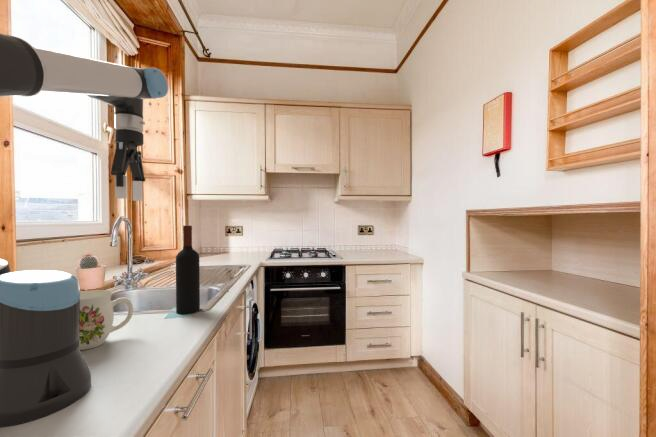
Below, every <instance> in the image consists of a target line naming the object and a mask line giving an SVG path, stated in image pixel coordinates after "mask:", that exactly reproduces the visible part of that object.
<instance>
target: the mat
mask: <svg viewBox="0 0 656 437" xmlns="http://www.w3.org/2000/svg"><path fill="white" fill-rule="evenodd" d="M171 310H176V306H175V307H172V309H171ZM192 316H193V314H187V315H180V314H177V313H173V312H172V313H171V312H170V311H169V312H168V313H167V315H165V317H164V319H173V318H174V319H175V318H185V317H192ZM164 319H163V320H164Z"/></svg>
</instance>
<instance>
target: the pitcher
mask: <svg viewBox="0 0 656 437" xmlns="http://www.w3.org/2000/svg"><path fill="white" fill-rule="evenodd" d="M79 292H80V318H79V348H80V351H86V350H91V349H95V348H97V347H100V346H102V345H103V344H104V343H105V341H106V340H107V339H108V337H109V335H110V334H111V333H113V332H115V331H118V330H119V329H122V328H124V327H125V326H127V324H128V323H129V322H130V321H131V319H132V317H133V315H134V314H133V313H134V306H133V303H132V301H131V299H129V298H128V297H124V296H123V297H119V298H116V299H114V300H111V299H112V295H113V291H112V290H109V289H108V290H107V289H95V290H94V289H93V290H84V291H83V290H82V291H79ZM119 303H125V304H126V306H127V309H128V311H127V315H126V316H125V318H124V319H123V320H122V321H120V322H119V323H118V324H115V325H114V319H115V314H114V313H115V312H114V307H115V306H116V305H118V304H119Z"/></svg>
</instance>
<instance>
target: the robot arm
mask: <svg viewBox="0 0 656 437" xmlns="http://www.w3.org/2000/svg"><path fill="white" fill-rule="evenodd" d="M168 90H169V85H168V81H167V78H166V76H165V74H164V73H163V72H162V71H161V70H160V69H159V68H157V67H144V68H143V67H142V68H139V67H134V66H127V65H124V64H119V63H113V62H109V61H103V60H98V59H94V58H88V57H84V56H79V55H74V54H70V53H69V54H68V53H65V52H59V51H55V50H50V49H46V48H45V49H44V48H39V47H35V46H32V45H31V43H29V42H27V41H26V40H25V39H23V38H20V37H17V36H13V35H9V34H3V33H0V98H4V97H33V96H36V95H38V94H39V93H41V92H42V93H44V92H45V93H57V94H58V93H59V94H72V95H73V94H74V95H86V96H88V97H89V98H91V99H95V100H97V101H100V102H101V103H104V104H107V105H110V106H111V107H113V110H114V124H113V125H114V126H113V127H114V129H115V130H114V142H115V151H114V155H113V159H112V160H113V161H112V164H111V168H110V169H111V170H110V171H111V172H110V174H111V176H114V177H115V178H114V180H115V182H114V183H115V185H114V187H115V192H114V193H115V196H114V197H115V199H128V176H127V175H126V174H127V171H128V167H129V168H130V171H131V176H132V179H133V180H132V181H131V183H132V186H131V188H132V191H131V193H132V195H131V196H132V201H133V202H134V201H135V202H136V201H138V202H140V201H141V202H143V182H146V178H145V173H144V165H143V160H142V151H141V150H138V147H141V146H143V145H144V134H143V132H144V125H146V123H145V121H144V100H146V99H147V100H148V99H149V100H150V99H151V100H152V99H154V100H155V99H159V98H160V99H162V98H164V97H165V96H167V95H168ZM80 292H81V291H80V290H79V281H78V278H77V277H76V276H75V275H74V274H71V273H70V272H66V271H63V270H52V269H45V270H43V269H42V270H40V269H31V270H30V269H28V270H27V269H26V270H18V271H11V268H10V265H9V262H8V260H5V259H3V258H0V428H4V427H11V426H15V425H22V424H25V423H29V422H33V421H36V420H39V419H43V418H44V417H47V416H51V415H52V414H55V413H57V412H59V411H62V410H64V409H66V408H68V407H70V406H72V405H73V404H75V403H76V402H78V401H79V400H81V399H82V398H83V397H85V395H86V394H88V392H89V391H90V389H91V387H92V374H91V370H90V369H89V367H88V364H87V363H86V360H85V358H84V356H83V354H82V350H80V348H79V318H80Z"/></svg>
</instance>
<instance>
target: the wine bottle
mask: <svg viewBox="0 0 656 437" xmlns="http://www.w3.org/2000/svg"><path fill="white" fill-rule="evenodd" d="M182 234H183V235H182V236H183V238H182V239H183V243H182V244H183V246H182V249H181V250H180V251H179V252H178V253H177V254H176V256H175V302H176V303H175V307H176V313H177V314H180V315H187V314H192V315H194V314H195V313H198V312H200V311H201V310H200V306H201V305H200V304H201V302H200V301H201V298H200V297H201V295H200V292H201V291H200V290H201V286H200V284H201V283H200V278H201V277H200V275H201V274H200V272H201V271H200V254H199V253H198V252H197V251H196V250H195V249H194V247H193V226H192V225H183V227H182ZM199 310H200V311H199Z"/></svg>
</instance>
